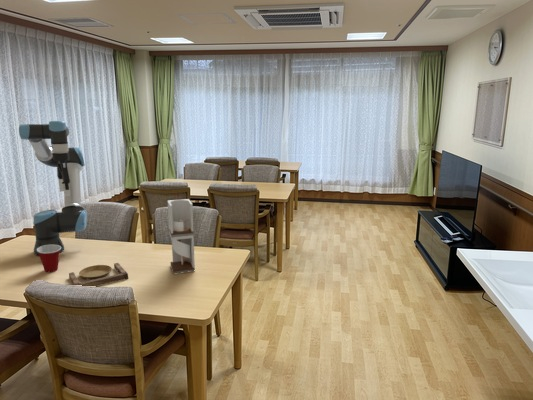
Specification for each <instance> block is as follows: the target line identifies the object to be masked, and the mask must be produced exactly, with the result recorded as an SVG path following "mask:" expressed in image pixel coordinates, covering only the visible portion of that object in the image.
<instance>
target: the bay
mask: <svg viewBox="0 0 533 400" xmlns="http://www.w3.org/2000/svg"><path fill="white" fill-rule="evenodd" d="M113 266H114V267H113V268H114V270H115V271H117V274H113V275H109V276H108V275H107V276H105V277H103V278H99V279H95V280H86V281H82V282H80V281H79V279H78V278H77V276H76V274H75V273H74V272H68V278H69V280H70V281H71V284H72V286H73V285H82V286H95V287H98V286H103V285H106V284H110V283H116V282H120V281H123V280H127V279H129V273H128V272H127V271H126V270H125V269H124V268H123V266H122V265H121V264H120V263H119V262H114V263H113Z"/></svg>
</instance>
